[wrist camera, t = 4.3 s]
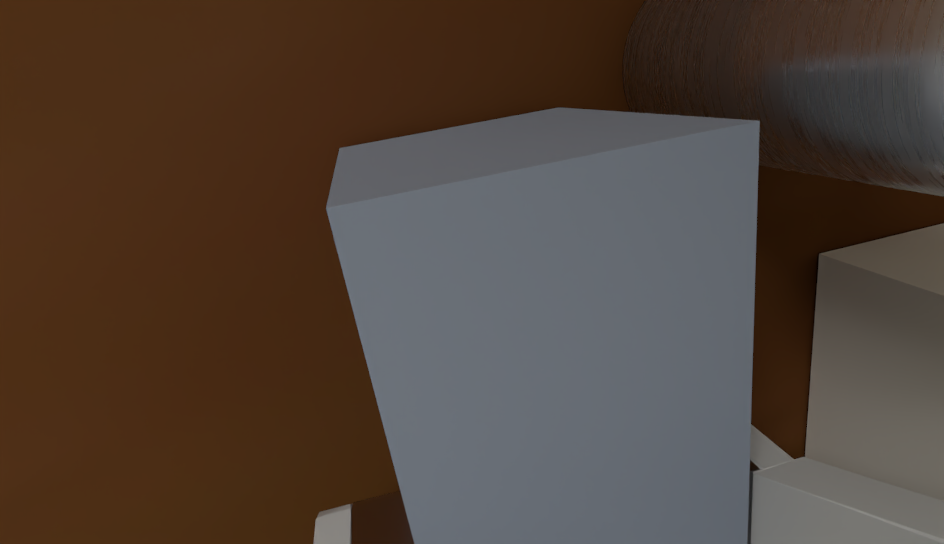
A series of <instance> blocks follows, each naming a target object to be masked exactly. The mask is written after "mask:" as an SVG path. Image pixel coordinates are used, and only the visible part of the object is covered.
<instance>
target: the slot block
mask: <svg viewBox="0 0 944 544" xmlns="http://www.w3.org/2000/svg"><path fill="white" fill-rule="evenodd" d="M805 458H808V459H812V460H815V461H818V462H821V463H824V464H828V465H831V466H834V467H837V468H840V469H843V470H847V471H850V472H853V473H856V474H859V475H862V476H866V477H869V478H872V479H875V480H878V481H882V482H885V483H888V484H891V485H894V486H897V487H901V488H904V489H907V490H910V491H913V492H916V493H920V494H923V495H926V496H929V497H932V498H936V499H939V500H942V501H944V223H942V224H938V225H934V226H930V227H926V228H922V229H918V230H914V231H910V232H906V233H902V234H898V235H893V236H889V237H885V238H881V239H877V240H873V241H869V242H865V243H861V244H857V245H853V246H849V247H845V248H840V249H836V250H832V251H828V252H824V253H820V254H819V262H818V277H817V291H816V305H815V319H814V334H813V348H812V362H811V376H810V390H809V405H808V419H807V433H806V447H805Z"/></svg>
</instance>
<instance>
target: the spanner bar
mask: <svg viewBox="0 0 944 544" xmlns="http://www.w3.org/2000/svg"><path fill="white" fill-rule="evenodd" d="M759 131H760V121H757V120H742V119H726V118H711V117H696V116H681V115H666V114H651V113H636V112H621V111H606V110H591V109H576V108H561V107H558V108H553V109H547V110H542V111H537V112H531V113H526V114H520V115H515V116H510V117H504V118H499V119H494V120H488V121H483V122H477V123H472V124H467V125H461V126H456V127H451V128H445V129H440V130H434V131H429V132H424V133H418V134H413V135H408V136H402V137H397V138H391V139H386V140H381V141H375V142H370V143H365V144H359V145H354V146H348V147H343V148H339V153H338V157H337V162H336V166H335V170H334V175H333V179H332V184H331V188H330V193H329V197H328V201H327V206H326V210H327V214H328V218H329V222H330V225H331V229H332V233H333V237H334V241H335V244H336V248H337V252H338V256H339V260H340V263H341V267H342V271H343V275H344V279H345V282H346V286H347V290H348V294H349V298H350V301H351V305H352V309H353V313H354V317H355V320H356V324H357V328H358V332H359V336H360V339H361V343H362V347H363V351H364V355H365V358H366V362H367V366H368V370H369V374H370V377H371V381H372V385H373V389H374V392H375V396H376V400H377V404H378V408H379V411H380V415H381V419H382V423H383V427H384V430H385V434H386V438H387V442H388V446H389V449H390V453H391V457H392V461H393V465H394V468H395V472H396V476H397V480H398V484H399V487H400V491H401V495H402V499H403V503H404V506H405V510H406V514H407V518H408V522H409V525H410V529H411V533H412V537H413V541H414V544H747V539H748V505H749V471H750V437H751V403H752V369H753V335H754V301H755V267H756V233H757V199H758V165H759Z"/></svg>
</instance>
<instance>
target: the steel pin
mask: <svg viewBox="0 0 944 544" xmlns="http://www.w3.org/2000/svg"><path fill="white" fill-rule="evenodd" d="M623 85H624V91H625V96H626V100H627V103H628V106H629V108H630V111H631V112H636V113H651V114H666V115H681V116H696V117H711V118H726V119H742V120H757V121H760V131H759V166H765V167H771V168H777V169H783V170H789V171H795V172H801V173H807V174H813V175H819V176H825V177H831V178H837V179H842V180H848V181H854V182H860V183H866V184H872V185H878V186H884V187H890V188H896V189H902V190H908V191H914V192H920V193H925V194H931V195H937V196H943V197H944V0H646V1H645V2H644V4H643V5H642V7H641V8H640V10H639V12H638V13H637V15H636V17H635V19H634V22H633V24H632V26H631V29H630V31H629V34H628V37H627V41H626V45H625V50H624V57H623Z"/></svg>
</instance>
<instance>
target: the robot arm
mask: <svg viewBox="0 0 944 544" xmlns="http://www.w3.org/2000/svg"><path fill="white" fill-rule="evenodd" d="M314 544H414V541H413V537H412V533H411V529H410V525H409V522H408V518H407V514H406V510H405V506H404V503H403V499H402V495H401V491H396V492H392V493H388V494H384V495H381V496H377V497H373V498H369V499H365V500H361V501H357V502H353V504H348V505H344V506H340V507H337V508H333V509H329V510H325V511H321V512H319V514H318V516H317V519H316V521H315V533H314ZM747 544H944V501H942V500H939V499H936V498H932V497H929V496H926V495H923V494H920V493H916V492H913V491H910V490H907V489H904V488H901V487H897V486H894V485H891V484H888V483H885V482H882V481H878V480H875V479H872V478H869V477H866V476H862V475H859V474H856V473H853V472H850V471H847V470H843V469H840V468H837V467H834V466H831V465H828V464H824V463H821V462H818V461H815V460H812V459H808V458H805V457H801V458H797V459H793V458H792V457H791V456H789V455H788V454H787V453H786V452H784V451H783V450H782V449H781V448H780V447H778V446H777V445H776V444H775V443H773V442H772V441H771V440H770V439H769V438H767V437H766V436H765V435H764V434H762V433H761V432H760V431H759V430H758V429H756V428H755V427H754V426H753V425H751V437H750V471H749V505H748V539H747Z"/></svg>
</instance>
